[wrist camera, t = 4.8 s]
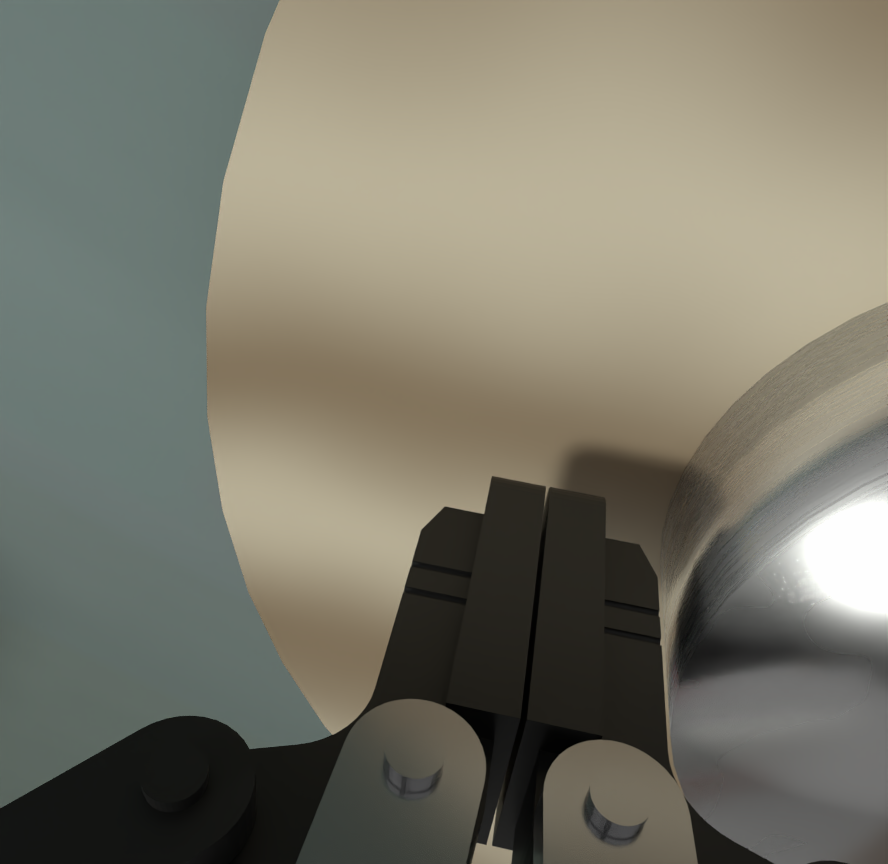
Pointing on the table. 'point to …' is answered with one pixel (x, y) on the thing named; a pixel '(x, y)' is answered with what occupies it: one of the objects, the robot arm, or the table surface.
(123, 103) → the table surface
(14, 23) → the table surface
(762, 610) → the cover
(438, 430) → the turntable
